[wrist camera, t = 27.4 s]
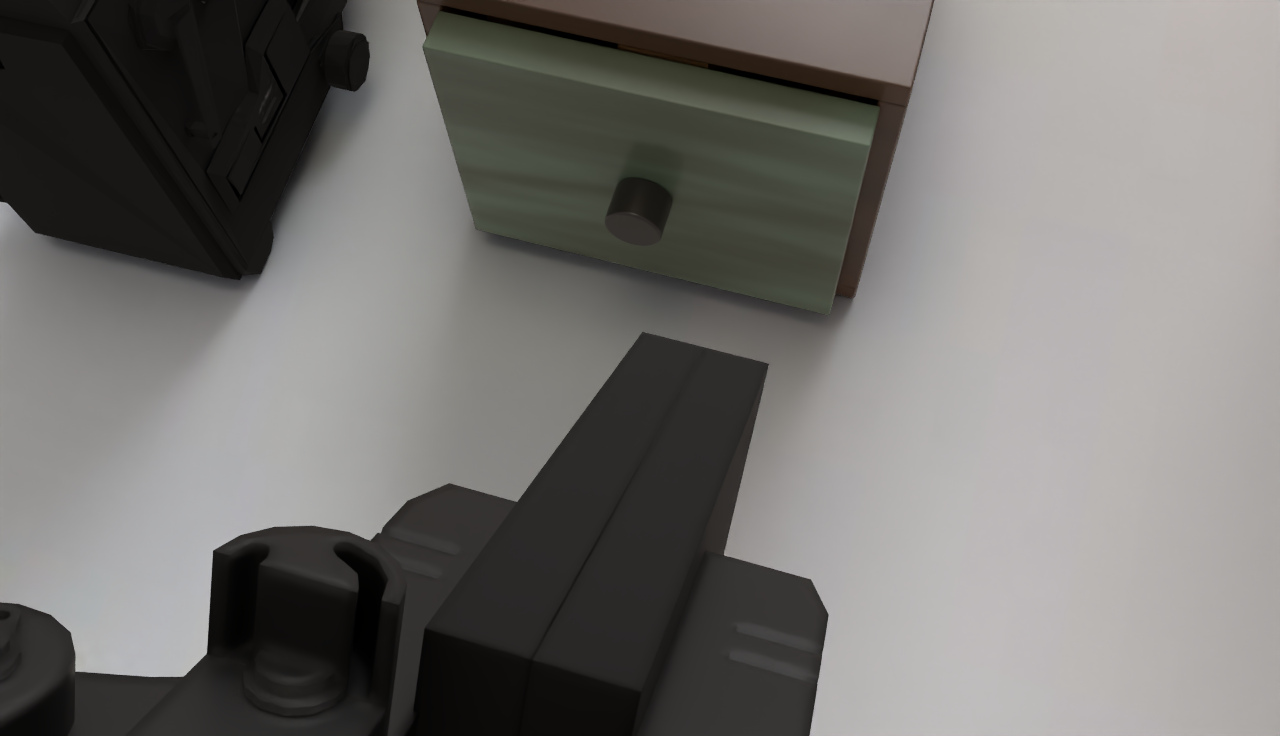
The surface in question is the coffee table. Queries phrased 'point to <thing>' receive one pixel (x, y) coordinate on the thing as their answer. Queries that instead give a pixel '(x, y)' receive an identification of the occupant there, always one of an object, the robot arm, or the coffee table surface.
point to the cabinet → (762, 57)
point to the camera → (165, 119)
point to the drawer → (652, 158)
